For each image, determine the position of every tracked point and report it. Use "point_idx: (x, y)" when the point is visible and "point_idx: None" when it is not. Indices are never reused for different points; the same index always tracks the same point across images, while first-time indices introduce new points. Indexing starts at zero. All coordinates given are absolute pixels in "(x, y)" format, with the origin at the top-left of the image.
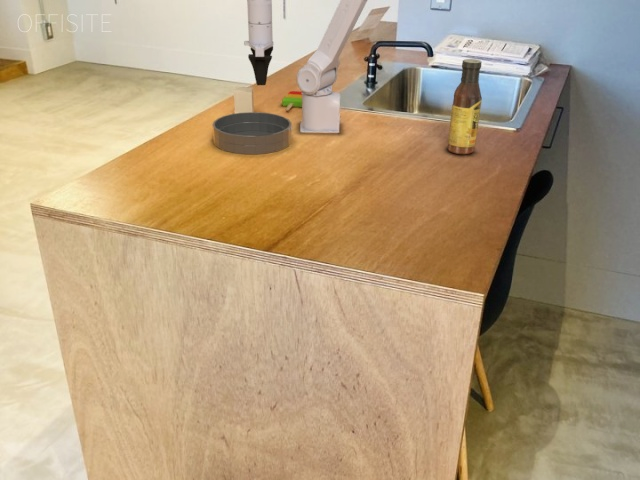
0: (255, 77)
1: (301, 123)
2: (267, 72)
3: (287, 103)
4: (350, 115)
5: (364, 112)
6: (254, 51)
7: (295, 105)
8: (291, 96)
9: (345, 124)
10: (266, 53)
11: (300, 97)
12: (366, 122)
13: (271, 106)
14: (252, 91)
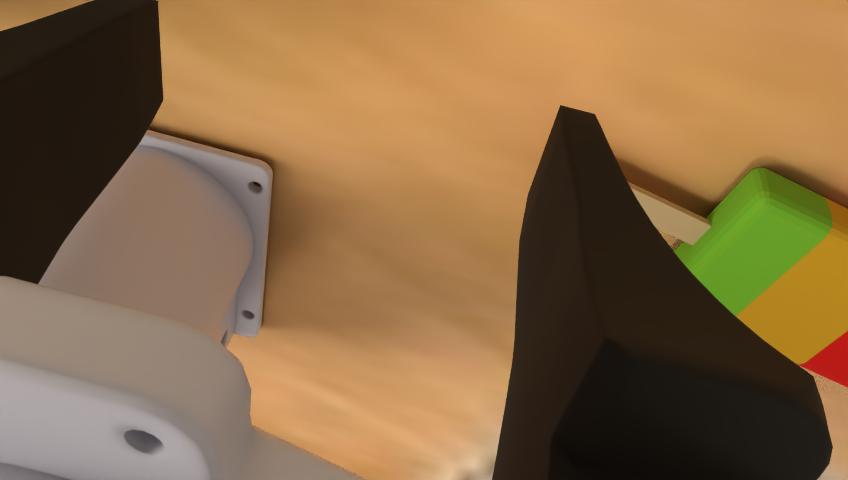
0: (41, 20)
1: (218, 161)
2: (519, 248)
3: (726, 208)
4: (415, 419)
5: (455, 477)
6: (572, 363)
7: (682, 245)
8: (818, 280)
9: (257, 354)
10: (509, 472)
11: (752, 323)
12: (288, 430)
13: (802, 76)
14: None
